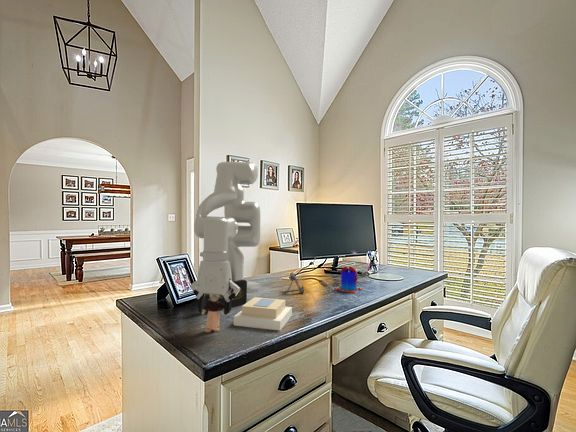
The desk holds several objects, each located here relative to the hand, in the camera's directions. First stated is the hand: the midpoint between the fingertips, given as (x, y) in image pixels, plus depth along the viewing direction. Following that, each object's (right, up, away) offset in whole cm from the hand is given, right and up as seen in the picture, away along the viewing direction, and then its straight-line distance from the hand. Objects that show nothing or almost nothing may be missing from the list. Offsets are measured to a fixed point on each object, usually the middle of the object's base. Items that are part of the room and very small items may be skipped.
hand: (214, 311), depth 99 cm
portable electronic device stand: (+27, -7, +53) cm, 60 cm away
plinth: (+15, -6, +11) cm, 19 cm away
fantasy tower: (+54, -7, +59) cm, 80 cm away
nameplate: (-2, -6, +23) cm, 24 cm away
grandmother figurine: (0, -6, 0) cm, 6 cm away
